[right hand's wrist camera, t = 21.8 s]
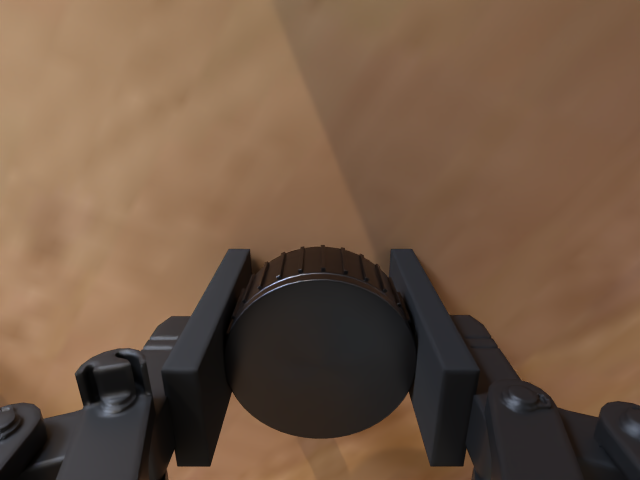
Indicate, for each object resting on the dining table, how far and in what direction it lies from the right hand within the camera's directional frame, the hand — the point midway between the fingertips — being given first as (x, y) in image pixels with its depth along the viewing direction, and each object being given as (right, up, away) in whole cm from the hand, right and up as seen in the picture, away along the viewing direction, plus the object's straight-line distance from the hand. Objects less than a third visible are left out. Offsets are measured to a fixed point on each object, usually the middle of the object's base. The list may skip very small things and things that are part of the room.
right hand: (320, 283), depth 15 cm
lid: (0, -2, -4) cm, 4 cm away
